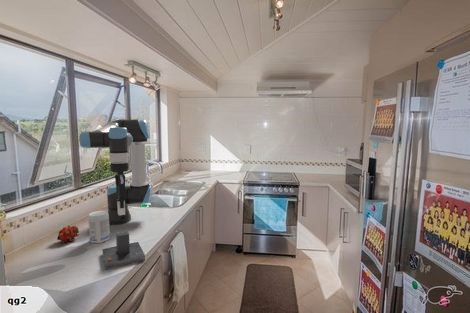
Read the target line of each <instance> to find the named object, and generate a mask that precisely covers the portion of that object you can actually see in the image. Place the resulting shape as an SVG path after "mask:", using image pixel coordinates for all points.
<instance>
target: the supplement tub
mask: <svg viewBox="0 0 470 313" xmlns="http://www.w3.org/2000/svg"><path fill="white" fill-rule="evenodd" d="M87 218H88V230H89V231H88V232H89V242H91V244H100V243H102V244H103V243H105V242H107V241H109V239H110V238H111V233H110V232H111V231H110V230H111V229H110V224H109V214H108V210H96V211H92V212H90V213H89V214H88V216H87Z"/></svg>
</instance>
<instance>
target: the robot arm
mask: <svg viewBox="0 0 470 313" xmlns="http://www.w3.org/2000/svg"><path fill="white" fill-rule="evenodd" d="M78 137H79V138H78V140H79V145H80V147H82V148H85V149H97V148H98V149H99V148H100V149H102V148H106V149H108V148H109V153H108V154H109V162H110V164H109V168H110V172H112V173H115V175H114V179H115V184H113V185H111V186H108V187H107V189H106V190H107V192H106V197H107V211H108V214H109V225H121V224H125V223H129V222H130V221H131V220H132V214H131V213H130V210H129V208H128V207H129V205H139V204H142V205H143V204H149V203H150V201H151V196H152V188H153V187H152V185H150V182H149V181H148V180H147V162H146V160H147V159H146V158H147V157H146V143H147V142H148V139H149V138H150V137H151V136H150V128H149V123H148V122H147V121H146V119H139V118H138V119H115V120H111V121H109V122H107V123H105V124H103V126H102V127H100V128H97V129H95V130H93V131H82V132H80V134H79V136H78ZM129 147H130V154H129ZM129 157H130V164H131V165H130V166H131V179H132V180H131V182H130V183H129V185H128V183H126V174H124V173H125V172H128V171H129V169H130V168H129V167H130V166H129Z"/></svg>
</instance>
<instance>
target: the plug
mask: <svg viewBox="0 0 470 313" xmlns="http://www.w3.org/2000/svg"><path fill="white" fill-rule="evenodd" d="M115 238H116V239H115V240H116V246H117V254H118V255H121V254H126V253H130V246H129V244H130V233H129V231H128V230H127V231H121V232H116V233H115Z"/></svg>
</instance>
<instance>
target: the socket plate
mask: <svg viewBox="0 0 470 313" xmlns="http://www.w3.org/2000/svg"><path fill="white" fill-rule="evenodd" d="M129 246H130V253H126V254H121V255H118V254H117V245H116V246H111V247H106V248H102V250H101V251H102V259H103V264H104V269H105V270H110V269H113V268H114V269H115V268H118V267H122V266H126V265H131V264H134V263H139V262H143V261H145V260H146V254H145V252H144V250H143V249H142V247H141V245H140V243H139V242H138V241H134V242H129Z"/></svg>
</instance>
